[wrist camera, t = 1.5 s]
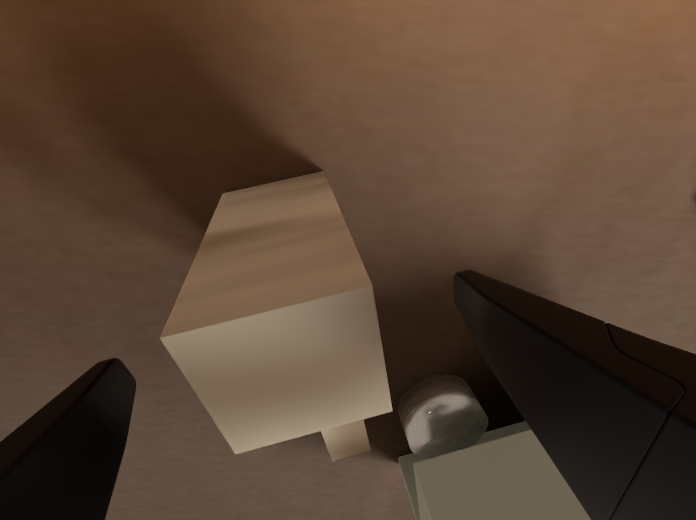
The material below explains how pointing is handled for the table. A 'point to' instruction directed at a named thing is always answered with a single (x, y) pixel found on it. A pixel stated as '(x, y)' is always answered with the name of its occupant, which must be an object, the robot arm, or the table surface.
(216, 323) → the wooden l-shaped block
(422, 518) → the pale green stool
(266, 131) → the table surface
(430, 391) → the cylinder
